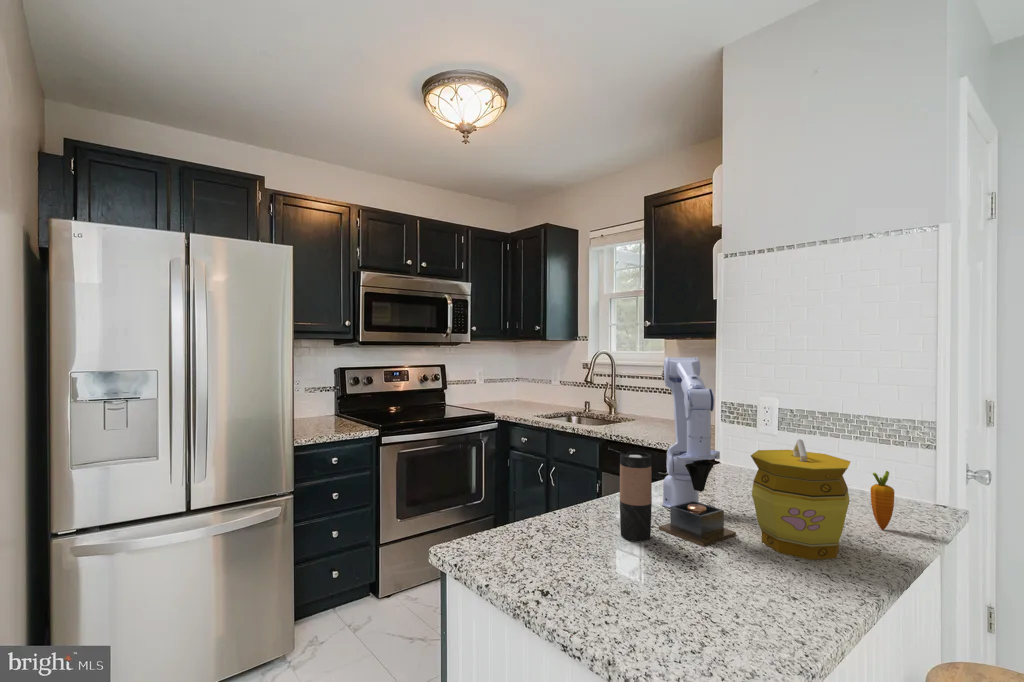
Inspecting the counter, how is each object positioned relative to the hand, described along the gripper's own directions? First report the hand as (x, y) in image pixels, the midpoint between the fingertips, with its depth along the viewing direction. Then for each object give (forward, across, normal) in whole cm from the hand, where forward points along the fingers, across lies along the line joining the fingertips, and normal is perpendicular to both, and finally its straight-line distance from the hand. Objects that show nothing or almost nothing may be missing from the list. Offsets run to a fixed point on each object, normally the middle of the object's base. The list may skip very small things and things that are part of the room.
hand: (698, 490), depth 126 cm
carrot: (+11, +41, -24) cm, 49 cm away
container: (+11, +12, -18) cm, 25 cm away
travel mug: (+11, -16, +6) cm, 20 cm away
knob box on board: (+10, -1, 0) cm, 10 cm away
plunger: (+9, -1, 0) cm, 9 cm away
